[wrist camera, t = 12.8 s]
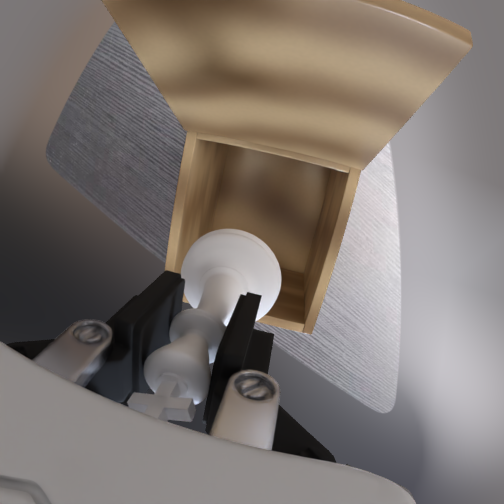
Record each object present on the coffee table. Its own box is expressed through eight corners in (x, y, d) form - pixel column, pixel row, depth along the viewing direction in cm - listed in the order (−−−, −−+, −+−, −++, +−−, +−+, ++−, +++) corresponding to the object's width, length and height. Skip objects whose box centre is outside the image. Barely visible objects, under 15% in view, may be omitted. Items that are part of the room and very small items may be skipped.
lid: (474, 46, 6) (471, 30, 6) (92, -13, 7) (102, -26, 7) (362, 170, 20) (364, 160, 20) (184, 130, 21) (187, 120, 21)
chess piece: (284, 319, 16) (263, 492, 7) (192, 322, 17) (105, 466, 8) (276, 224, 15) (237, 347, 5) (176, 233, 16) (35, 334, 6)
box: (308, 279, 37) (311, 335, 25) (202, 252, 38) (161, 295, 26) (339, 162, 33) (362, 165, 21) (225, 135, 33) (187, 126, 22)
